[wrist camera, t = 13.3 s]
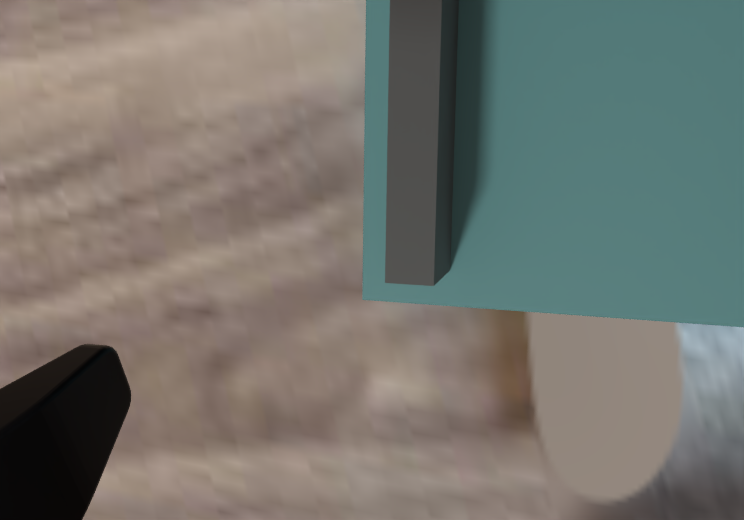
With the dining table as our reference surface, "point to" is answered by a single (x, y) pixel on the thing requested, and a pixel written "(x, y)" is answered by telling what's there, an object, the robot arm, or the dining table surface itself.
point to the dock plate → (556, 157)
